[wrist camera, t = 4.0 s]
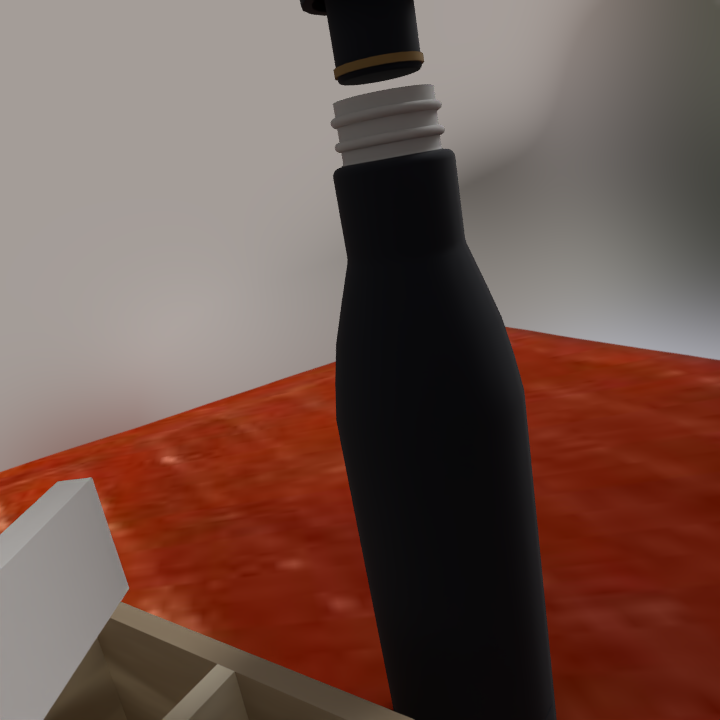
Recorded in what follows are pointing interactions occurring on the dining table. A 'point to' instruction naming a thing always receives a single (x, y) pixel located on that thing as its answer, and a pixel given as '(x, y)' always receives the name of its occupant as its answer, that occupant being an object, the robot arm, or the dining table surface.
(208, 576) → the dining table surface
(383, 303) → the black metal bottle
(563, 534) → the dining table surface
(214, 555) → the dining table surface
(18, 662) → the robot arm
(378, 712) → the wooden compartment box
